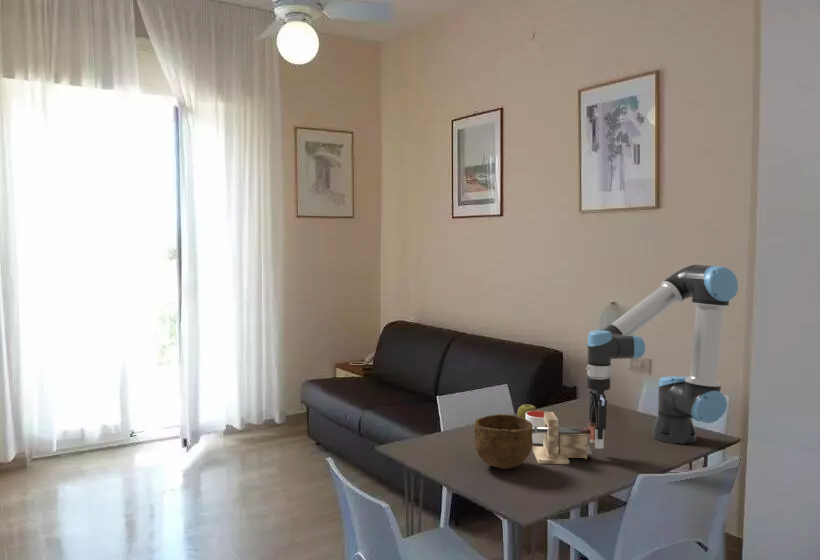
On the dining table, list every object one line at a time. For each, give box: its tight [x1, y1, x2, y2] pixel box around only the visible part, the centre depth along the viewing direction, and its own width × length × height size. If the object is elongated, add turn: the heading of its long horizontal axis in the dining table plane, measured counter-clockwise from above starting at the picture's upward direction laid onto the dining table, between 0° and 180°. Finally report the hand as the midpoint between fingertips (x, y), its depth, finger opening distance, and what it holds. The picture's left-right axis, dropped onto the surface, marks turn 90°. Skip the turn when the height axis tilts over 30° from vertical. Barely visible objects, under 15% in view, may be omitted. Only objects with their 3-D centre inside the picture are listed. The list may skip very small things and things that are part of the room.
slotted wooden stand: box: [531, 411, 589, 465], centre depth 217 cm, size 17×14×14 cm
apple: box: [516, 404, 538, 419], centre depth 257 cm, size 8×8×7 cm
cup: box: [525, 410, 547, 445], centre depth 234 cm, size 10×10×10 cm
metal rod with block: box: [533, 422, 596, 440], centre depth 217 cm, size 24×4×4 cm, turn 88°
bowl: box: [473, 413, 533, 470], centre depth 207 cm, size 19×19×15 cm
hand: (596, 445), depth 217 cm, fingers open, 5 cm apart
